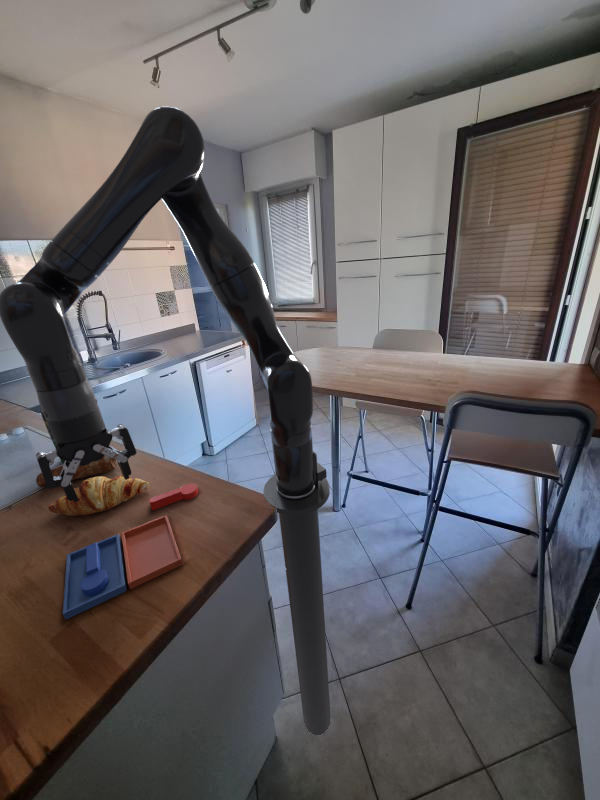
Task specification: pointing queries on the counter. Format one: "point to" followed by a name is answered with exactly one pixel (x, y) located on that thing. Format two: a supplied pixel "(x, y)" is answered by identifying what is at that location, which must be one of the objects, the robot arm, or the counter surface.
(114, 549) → the blue tray
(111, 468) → the bread
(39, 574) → the counter surface
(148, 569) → the terracotta tray
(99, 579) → the blue spoon
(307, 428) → the robot arm
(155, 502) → the red spoon
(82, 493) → the croissant
